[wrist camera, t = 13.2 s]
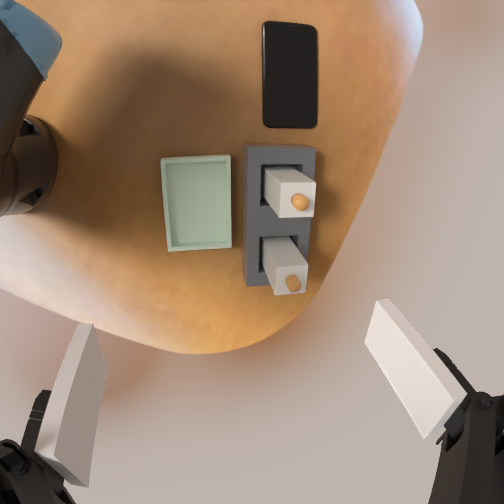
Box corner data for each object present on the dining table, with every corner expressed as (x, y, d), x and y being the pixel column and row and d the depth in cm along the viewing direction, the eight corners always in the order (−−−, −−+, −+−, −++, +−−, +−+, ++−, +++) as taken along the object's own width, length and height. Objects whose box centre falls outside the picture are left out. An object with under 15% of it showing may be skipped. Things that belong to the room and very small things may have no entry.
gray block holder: (242, 273, 48) (256, 322, 37) (243, 144, 40) (260, 156, 29) (297, 269, 50) (324, 314, 39) (306, 145, 41) (344, 158, 30)
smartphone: (315, 128, 41) (315, 26, 34) (317, 129, 40) (317, 25, 33) (261, 127, 40) (260, 21, 32) (263, 128, 39) (262, 19, 32)
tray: (169, 246, 44) (168, 251, 43) (161, 157, 39) (160, 159, 37) (230, 242, 46) (231, 247, 44) (229, 154, 40) (230, 156, 38)
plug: (260, 259, 47) (277, 302, 37) (260, 234, 45) (279, 273, 35) (285, 257, 47) (309, 299, 37) (286, 233, 46) (312, 270, 35)
